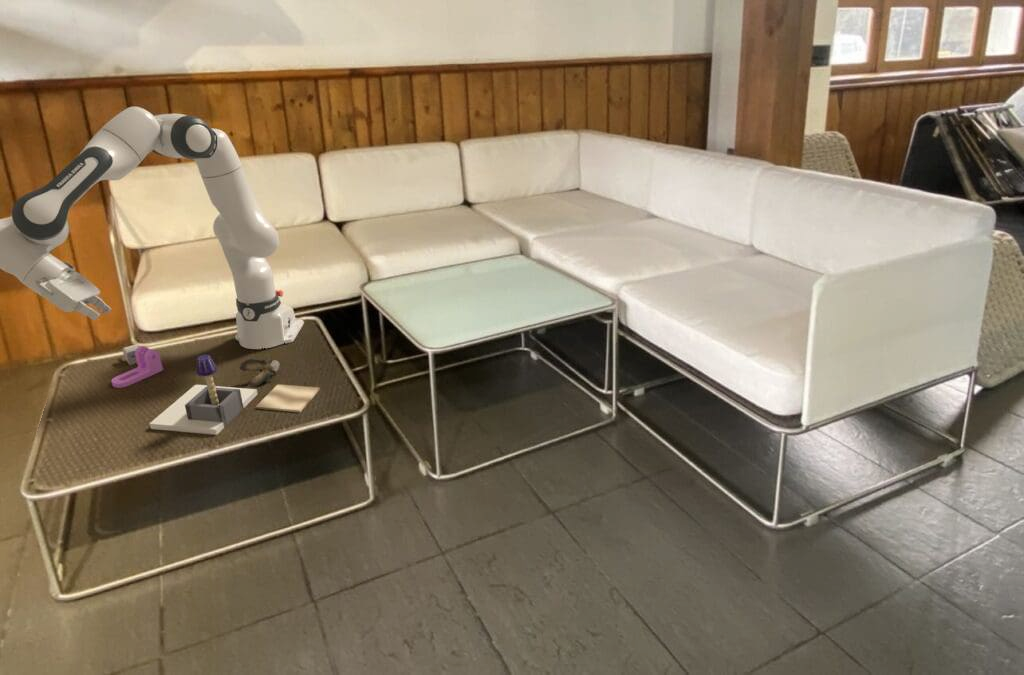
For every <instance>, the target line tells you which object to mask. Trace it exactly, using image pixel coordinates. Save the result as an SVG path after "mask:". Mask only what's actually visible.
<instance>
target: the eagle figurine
mask: <svg viewBox="0 0 1024 675" xmlns="http://www.w3.org/2000/svg"><path fill="white" fill-rule="evenodd" d="M266 357H267V360H268V361H267V360H265V359H254V358H249V359H247V360H246V359H245V360H244V361H242V363H241V364H240V365H239V369H240V370H241V371H242V372H256V371H259V372H258V374H256V375H255V376H254V377H253V378H252V379H250V380H249V381H248V382H247V384H248V385H250V386H251V388H252V387H253V388H254V387H258V386H260V385H262V384H263V383H264V382H265V380H267V379H270V378H271V376H272V373H273V374H274V375H277V371H279V369H280V362H279V361H277V360H276V359H272V358H270V356H269V355H267V356H266Z"/></svg>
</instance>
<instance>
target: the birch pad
mask: <svg viewBox="0 0 1024 675" xmlns="http://www.w3.org/2000/svg"><path fill="white" fill-rule="evenodd" d="M319 391H320V387H316V386H315V387H314V386H304V385H303V386H302V385H293V384H292V385H290V384H275V386H274V388H273V389H271V391H269V393H267V395H266V396H265V397H264V398H262V399H261V401H260V402H259V403H258V404H257V405H256V406H255V409H256V410H268V411H276V412H277V411H278V412H291V413H301V412H302V411H303V410H304V408H306V407H307V406H308V404H309V403H310V402H311V400H312V399H313V398H315V396H316V395H317V393H319Z"/></svg>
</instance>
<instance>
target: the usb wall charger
mask: <svg viewBox="0 0 1024 675" xmlns="http://www.w3.org/2000/svg"><path fill="white" fill-rule="evenodd" d="M138 347H139V346H138V345H137V344H133V345H129V346H125V347H123V348H122V353H123V357H124V359H125V361H126V363H128V365H129V366H132V364H133V365H135V363H136V364H137V360H136V356H135V351H136V349H137V348H138Z"/></svg>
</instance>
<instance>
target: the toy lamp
mask: <svg viewBox="0 0 1024 675" xmlns="http://www.w3.org/2000/svg"><path fill="white" fill-rule="evenodd" d="M217 370H218V368H217V366H216V364H215V363H214V361H213V359H212V357H211V356H210V355H209V354H202V355H200V356H198V357H197V359H196V374H197V376H200V377H204V378H205V380H204V381H205V383H206V385H207V388H208V392H209V394H210V399H211V404H212V405H219V404H218V403H219V400H218V399H217V394H216V389H215V388H214V387H215V386H216V385H215V383H214V378H213V374H215V373H216V372H217Z"/></svg>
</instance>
